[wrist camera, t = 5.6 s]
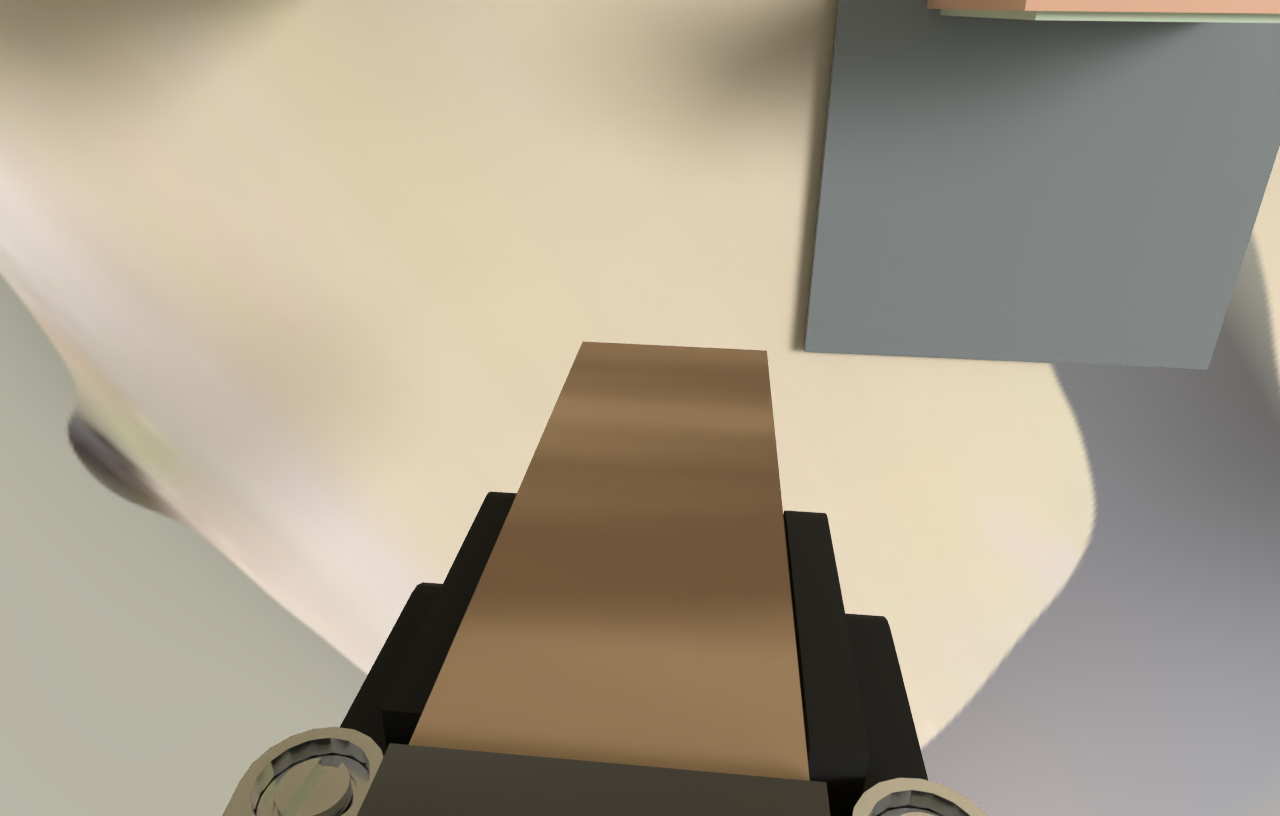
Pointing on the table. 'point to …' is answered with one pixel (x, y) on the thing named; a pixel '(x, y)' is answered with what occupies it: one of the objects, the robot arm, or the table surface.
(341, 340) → the table surface
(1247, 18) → the tile
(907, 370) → the table surface
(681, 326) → the table surface
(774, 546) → the banded brown box
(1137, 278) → the mat
